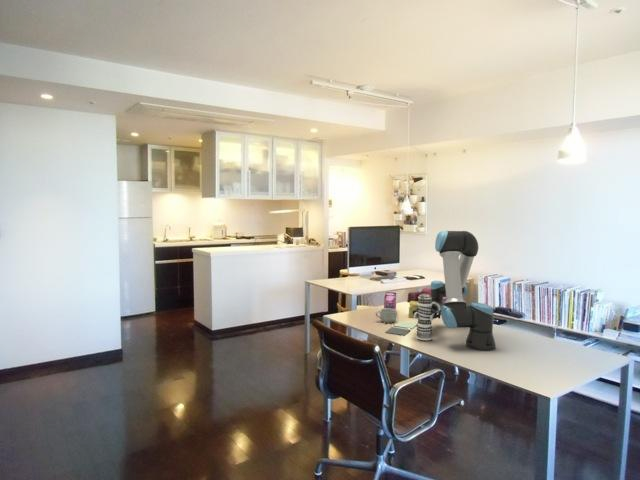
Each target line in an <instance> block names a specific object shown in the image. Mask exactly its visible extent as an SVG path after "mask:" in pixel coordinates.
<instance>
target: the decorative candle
mask: <svg viewBox="0 0 640 480" xmlns="http://www.w3.org/2000/svg"><path fill="white" fill-rule="evenodd" d="M417 302H418V306H417V312H418V313H417V318H416V319H417V322H416V323H417V326H416V327H417V328H416V330H417V331H416V339H418V340H420V341H430V340H432V337H433V335H432V334H433V332H432V331H433V326H432V325H433V324H432V321H430V316H431V315H432V313H431V312H433V311H432V310H431V309H433V307H431V306H433V305H432V297H431V294H428V293H427V294H426V293H421V294H419V296H417Z"/></svg>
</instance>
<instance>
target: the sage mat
mask: <svg viewBox="0 0 640 480" xmlns="http://www.w3.org/2000/svg"><path fill="white" fill-rule="evenodd" d="M417 323H418V322H408V321H402V320H400V321H398V322H397V323H395V324H394V325H393V327H394V328H401V327H402V328H401V329H408V328H410V329H409V330H413V329H414V328H416V327H417V326H416V325H417Z"/></svg>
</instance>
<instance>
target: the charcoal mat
mask: <svg viewBox="0 0 640 480" xmlns="http://www.w3.org/2000/svg"><path fill="white" fill-rule="evenodd" d="M409 331H410V332H411V329H408V328H401V327H394V326H393V327H392V326H391V327H390V328H388V329H387V330H386V331H384V333H385V334H389V335H394V336H395V335H396V336H403V337H406V335H407V334H409V333H410V332H409Z"/></svg>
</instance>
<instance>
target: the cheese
mask: <svg viewBox="0 0 640 480" xmlns="http://www.w3.org/2000/svg"><path fill="white" fill-rule="evenodd" d="M417 306H418V300H417V301H415V300H410V301H409V306H408V307H409V308H408V316H407V317H408V318H409V319H414V315H413V311H414V310H416V309H417Z"/></svg>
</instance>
